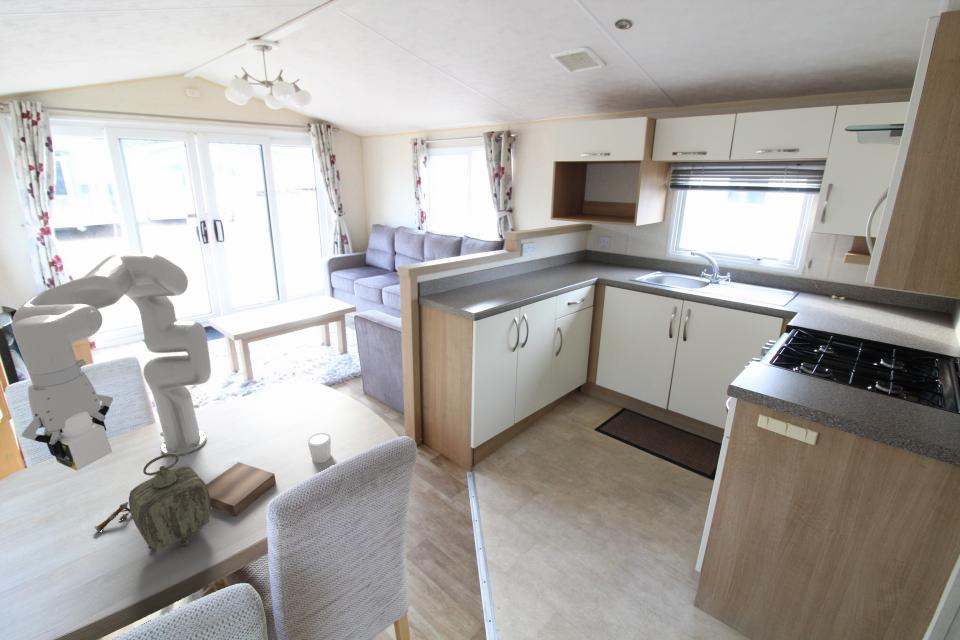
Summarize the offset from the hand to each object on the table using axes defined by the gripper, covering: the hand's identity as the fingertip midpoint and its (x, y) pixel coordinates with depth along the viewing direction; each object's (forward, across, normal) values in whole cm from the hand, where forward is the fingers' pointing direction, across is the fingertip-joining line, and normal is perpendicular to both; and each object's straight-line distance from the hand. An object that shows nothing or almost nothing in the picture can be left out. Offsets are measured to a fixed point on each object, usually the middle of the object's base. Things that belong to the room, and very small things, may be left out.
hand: (81, 445), depth 99 cm
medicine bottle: (+4, 0, 0) cm, 4 cm away
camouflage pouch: (+30, -7, +13) cm, 33 cm away
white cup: (+31, -47, +23) cm, 60 cm away
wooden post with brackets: (+30, -5, -8) cm, 32 cm away
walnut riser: (+30, -25, +12) cm, 41 cm away
